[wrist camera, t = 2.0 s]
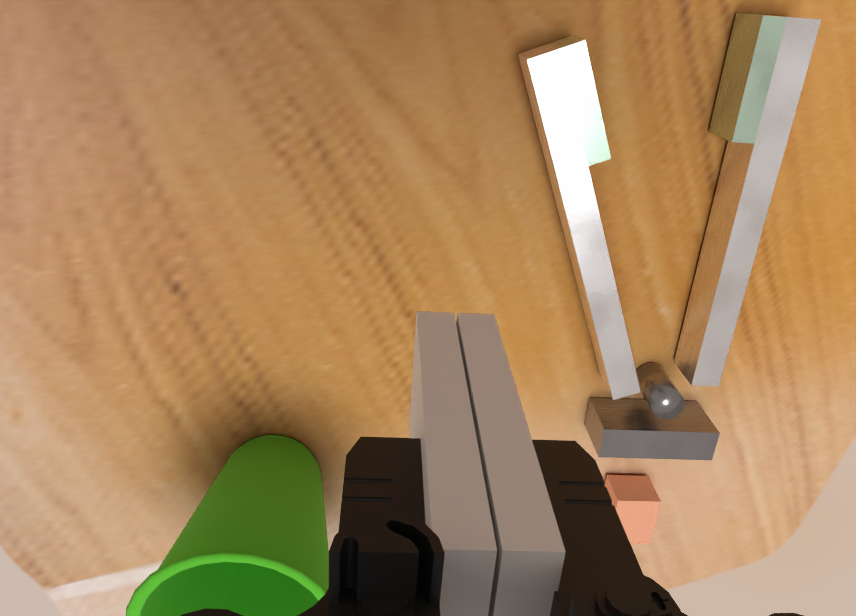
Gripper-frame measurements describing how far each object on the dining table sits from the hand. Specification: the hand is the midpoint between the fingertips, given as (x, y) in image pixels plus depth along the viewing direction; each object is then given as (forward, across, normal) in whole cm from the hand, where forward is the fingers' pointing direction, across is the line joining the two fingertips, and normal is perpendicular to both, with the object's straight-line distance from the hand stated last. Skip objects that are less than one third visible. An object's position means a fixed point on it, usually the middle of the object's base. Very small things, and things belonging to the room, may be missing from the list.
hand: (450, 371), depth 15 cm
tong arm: (+19, +8, -3) cm, 21 cm away
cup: (+20, -7, -18) cm, 28 cm away
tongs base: (+19, +13, -4) cm, 24 cm away
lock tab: (+19, +13, -19) cm, 30 cm away
